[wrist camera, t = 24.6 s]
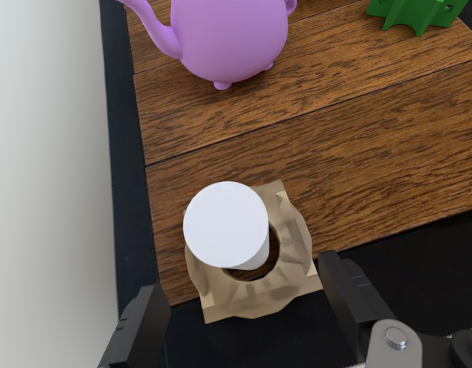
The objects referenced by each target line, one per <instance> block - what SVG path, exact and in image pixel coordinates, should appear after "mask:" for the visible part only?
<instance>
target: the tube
mask: <svg viewBox="0 0 472 368" xmlns="http://www.w3.org/2000/svg"><path fill="white" fill-rule="evenodd" d="M183 231H184V237H185V240H186V243H187V245H188V247H189V248H190V250H191V251H192V253H193V254H194V255H195V256H196V257H197V258H198V259H200V260H201V261H203V262H204V263H206V264H209V265H211V266H215V267H221V268H231V269H242V270H254V269H257V268H259V267H261V266H262V265H263V264H264V263H265V262H266V260H267V258H268V255H269V227H268V214H267V211H266V207H265V205H264V203H263V201H262V200H261V198H260V197H259V196H258V195H257V194H256V192H254V191H253V190H252V189H250V188H249V187H247V186H245V185H243V184H240V183H236V182H219V183H215V184H212V185H210V186H208V187H206V188H204V189H203V190H201V191H200V192H199V193H198V194H197V195H196V196H195V197H194V198H193V199H192V201H191V202H190V204H189V205H188V208H187V210H186V212H185V216H184V222H183Z"/></svg>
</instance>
